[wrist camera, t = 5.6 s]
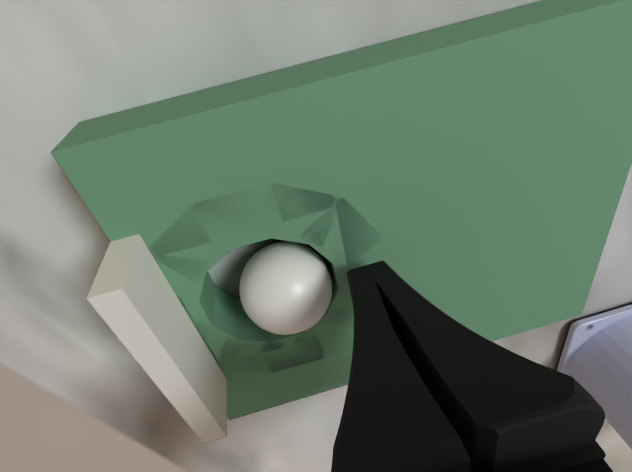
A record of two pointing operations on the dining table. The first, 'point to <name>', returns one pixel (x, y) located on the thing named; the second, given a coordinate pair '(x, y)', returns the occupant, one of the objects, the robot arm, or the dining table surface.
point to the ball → (285, 288)
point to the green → (362, 194)
